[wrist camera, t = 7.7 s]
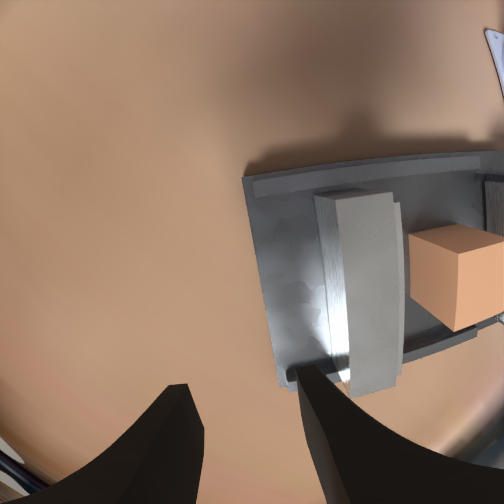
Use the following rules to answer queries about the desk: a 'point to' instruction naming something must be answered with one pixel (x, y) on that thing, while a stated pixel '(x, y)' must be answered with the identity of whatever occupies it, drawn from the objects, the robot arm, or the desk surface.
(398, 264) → the moving jaw
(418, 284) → the block
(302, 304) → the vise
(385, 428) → the robot arm
